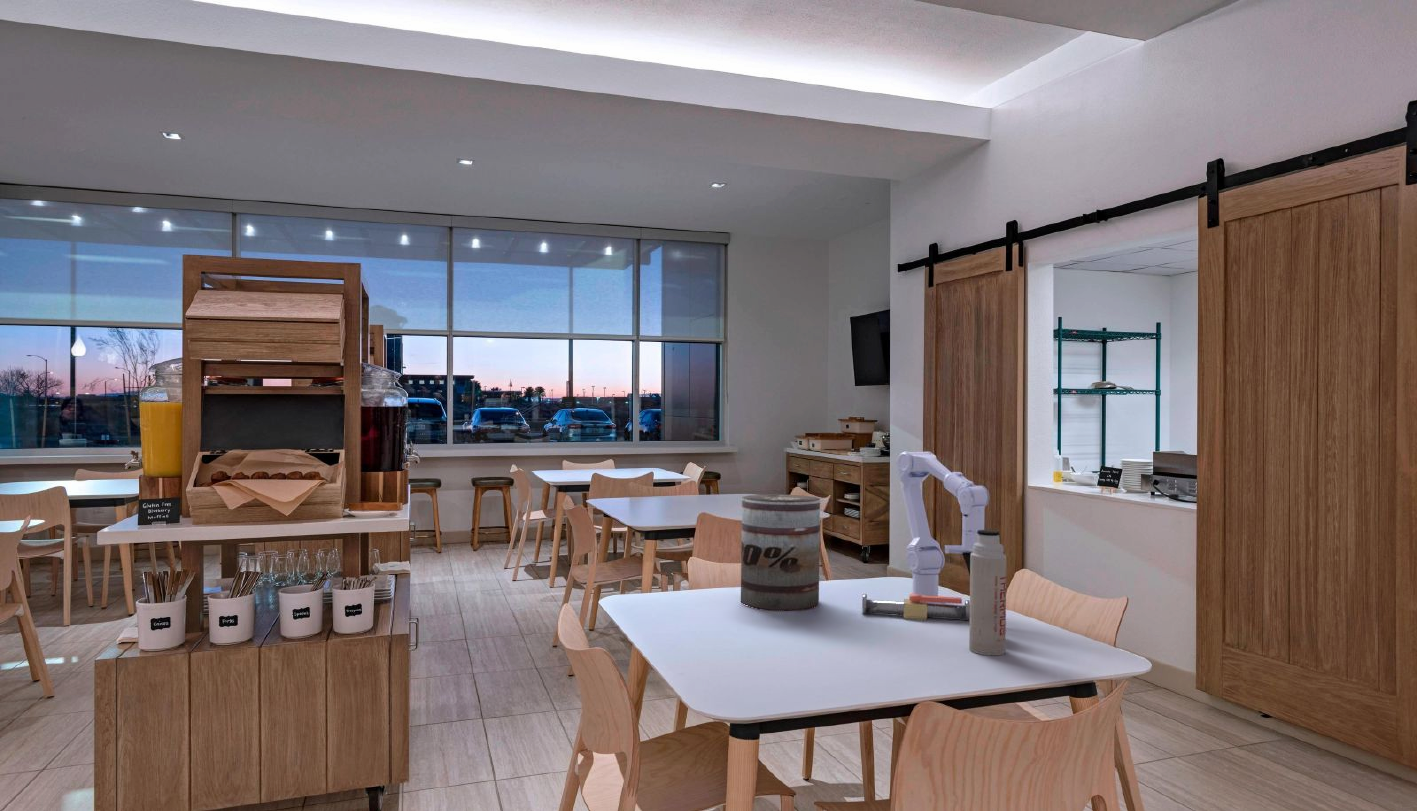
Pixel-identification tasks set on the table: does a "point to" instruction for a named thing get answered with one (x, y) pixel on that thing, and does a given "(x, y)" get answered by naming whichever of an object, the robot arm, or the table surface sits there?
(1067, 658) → the table surface
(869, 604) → the pipe and valve
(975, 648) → the thermos bottle
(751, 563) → the barrel
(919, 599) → the lever
